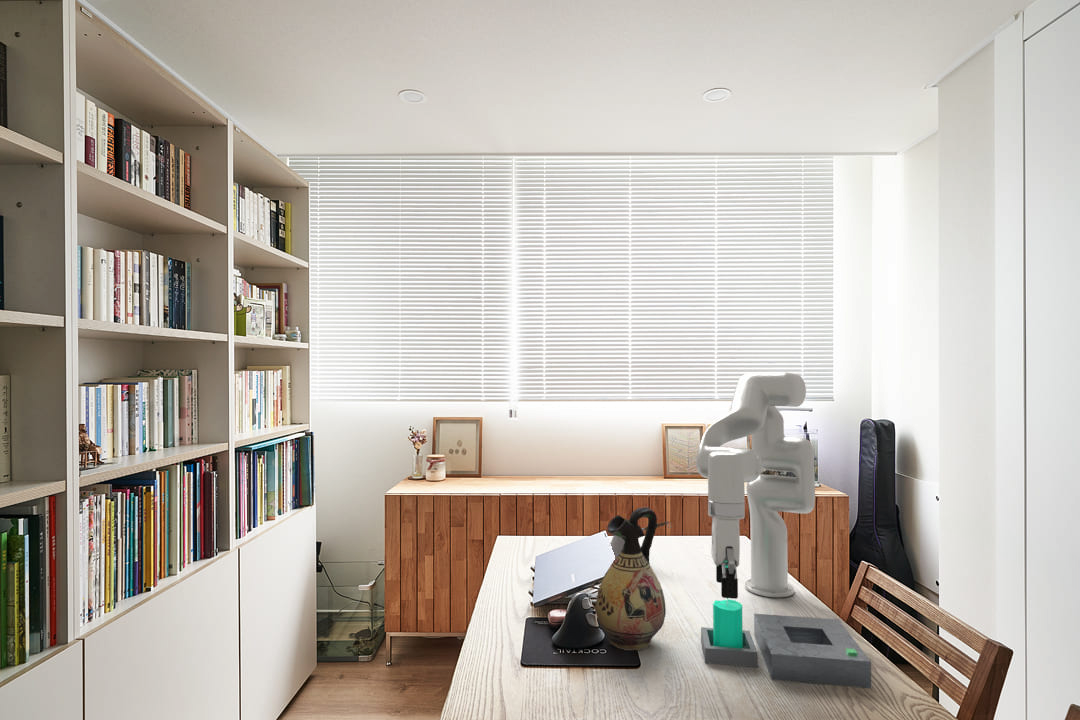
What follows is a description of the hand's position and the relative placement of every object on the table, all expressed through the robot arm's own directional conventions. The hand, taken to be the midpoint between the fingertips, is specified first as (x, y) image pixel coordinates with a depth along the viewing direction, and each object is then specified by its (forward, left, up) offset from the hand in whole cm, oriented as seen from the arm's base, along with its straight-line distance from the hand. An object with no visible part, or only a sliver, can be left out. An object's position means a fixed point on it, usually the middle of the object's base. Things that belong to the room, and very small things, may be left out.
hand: (726, 589), depth 128 cm
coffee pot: (-58, -20, -14) cm, 62 cm away
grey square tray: (-1, 0, -14) cm, 14 cm away
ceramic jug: (-3, -20, -14) cm, 24 cm away
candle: (-1, 0, -14) cm, 14 cm away
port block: (-1, +16, -14) cm, 21 cm away
